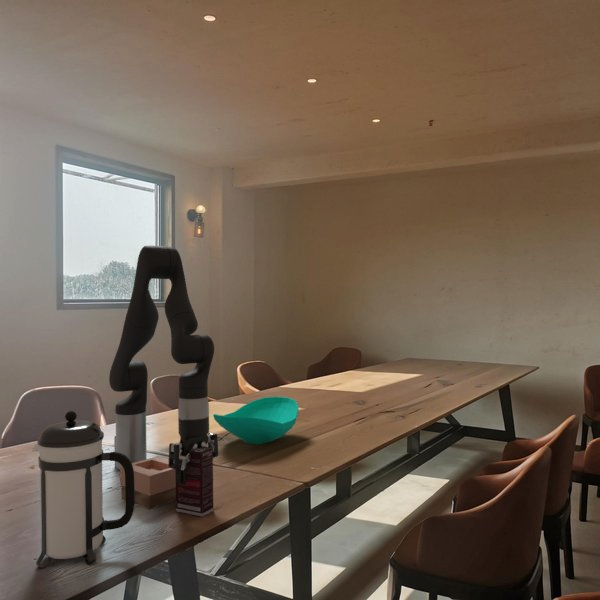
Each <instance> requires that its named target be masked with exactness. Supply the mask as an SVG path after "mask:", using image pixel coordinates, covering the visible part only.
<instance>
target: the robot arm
mask: <svg viewBox="0 0 600 600" xmlns="http://www.w3.org/2000/svg"><path fill="white" fill-rule="evenodd" d="M139 251H140V252H139V254H138V257H137V258H138V259H137V263H136V268H135V269H136V270H135V275H134V280H133V281H134V282H133V287H132V288H133V289H132V293H131V297H130V300H129V304H128V307H127V312H126V316H125V318H124V322H123V328H122V332H121V338H120V339H119V344H118V348H117V350H116V353H115V356H114V358H113V362H112V364H111V367H110V370H109V371H110V372H109V376H108V377H109V378H108V379H109V380H108V381H109V385H110V388H111V389H112V391H114V392H118V393H121V392H122V393H123V392H131V394H129V395H128V396H127V397H126V398H125V399H122V400H121V401H119V402H117V403H116V405H115V409H114V410H115V436H114V438H113V439H114V443H113V444H114V452H119V453H122V454H124V455H126V456H127V457H128V458H129V460H130V461H131V463H135V462H138V461H142V460H146V459H147V402H148V381H149V379H148V378H149V375H148V373H149V372H148V367H147V365H146V363H145V362H144V361H142V360H133V359H134V357H135V356H136V355H137V354H138V353H139V352H140V351H141V350H143V348H144V347H145V346H147V344H149V342H150V341H151V340H152V338H154V336H155V332H156V329H157V326H158V323H159V322H158V321H159V311H158V308H157V306H156V304H155V302H154V299H153V298H152V296H151V293H150V288H149V286H150V282H151V280H152V279H153V280H169V281H170V283H171V289H170V290H169V293H168V295H167V297H166V299H165V303H164V313H165V317H166V320H167V323H168V325H169V329H170V337H171V339H170V340H171V345H170V350H171V351H170V354H171V357H172V359H173V360H174V361H175V362H176V363H177V364H179V365H189V364H195V367H194V369H192V370H191V371H188V372H186V373H183V374H181V375H180V376H179V377H178V378H179V379H178V406H177V407H178V408H177V412H178V413H177V415H178V416H177V417H178V418H177V420H178V422H177V423H178V435H179V438H180V439H179V442H176V443H174V442H170V443H169V446H168V459H169V468H172V469H175V470H176V482H177V483H178V485H182V486H183V485H185V470H184V469H185V467H186V465H187V463H188V462H189V461H190V460H191V457H192V455H193V451H195V450H196V449H197V448H205V447H209V448H213V459H215V458H216V457H217V458H218V457H219V443H218V442H219V441H218V438H219V437H218V434H217V433H214V432H213V433H212V432H210V406H209V405H210V404H209V403H210V402H209V396H208V394H209V393H208V392H209V391H208V387H209V386H208V381H209V375H210V370H211V366H212V362H213V359H214V355H215V354H214V353H215V344H214V340H213V339H212V338H211V337H210V336H209V335H207V334H194V333H195V332H196V331H197V329H198V328H199V326H198V325H199V324H198V320H197V317H196V315H195V312H194V309H193V307H192V304H191V301H190V298H189V293H188V288H187V282H186V277H185V272H184V271H185V270H184V267H183V261H182V258H181V254H180V252H179V251H178V250H177V249H176V248H175V247H171V246H165V245H164V246H163V245H150V244H149V245H144V246H143V247H142V248H141V249H140V250H139ZM180 448H181V450H180ZM179 452H180V453H179ZM184 454H185V455H186V457H184ZM182 461H183V462H182ZM181 463H182V464H181ZM120 466H122V465H121V464H120V463H119V462H116V461H114V467H115V468H116V470H118V471H120Z"/></svg>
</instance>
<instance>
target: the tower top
mask: <svg viewBox="0 0 600 600" xmlns="http://www.w3.org/2000/svg"><path fill="white" fill-rule="evenodd" d="M132 466H133V470H134V490H135V491H138V492H141V493H144V494H146V495H149V496H151V495H154V494H157V493H160V492H163V491H166V490H169V489H172V488H175V487H176V475H175V469H172V468H169V458H165V457H161V456H160V455H159V456H154V457H150V458H146V460H142V461H138V462H135V463H132ZM119 473H120V475H119V477H120V486H121V487H122V486H124V487H125V471H124V468H123V466H120V470H119Z"/></svg>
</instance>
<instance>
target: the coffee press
mask: <svg viewBox="0 0 600 600" xmlns="http://www.w3.org/2000/svg"><path fill="white" fill-rule="evenodd" d="M64 415H65V416H64V418H65V421H60V422H55V423H54V424H53V423H52V424H50V425H48V426H47V427H45V428H44V429H43V430H42V431H41V433H40V434H39V437H38V438H37V440H36V442H37V443H35V444H34V445H33V447H32V449H31V451H32V452H38V454H39V456H38V458H37V459H38V460H37V461H38V468H39V492H40V493H39V495H40V496H39V499H40V500H39V502H40V504H39V505H40V506H39V509H40V510H39V511H40V514H39V515H40V518H39V519H40V549H41V552H40V554H39V557H38V558H37V560H36V563H35V564H36V566H37V567H38V568H40V569H44V568H46V566H47V565H48V564H49V563H50V561H52V560H53V559H56V560H57V559H58V560H68V559H75V558H79V557H82V558H83V559H84V561H85V563H86V565H88V566H90V565H93V564H95V563H96V562H97V558H96V555H95V552H94V551H95V550H97V549H98V548H99V547H100V546H101V545H104V544H105V542H106V541H107V540H106V539H107V537H105V535H104V531H110V530H117V529H120V528H123V527H124V526H126V525H127V524H128V523H129V522H130V521H131V519H132V517H133V515H134V512H135V504H134V501H135V495H134V470H133V466H132V463H131V461H130V460H129V458H128V457H127V456H126V455H124V454H122V453H119V452H115V451H110V452H104V449H103V439H104V438H105V437H104V436H105V433H104V431H102V429H101V427H100V425H98V424H97V423H95V422H92V421H89V420H76V419H77V418H78V415H77V413H76V412H75V411H74V410H69V411H67V412H66V413H65V414H64ZM104 461H110V462H115V461H116V462H119V463H120V464H121V465H122V466H123V468H124V471H125V500H124V501H125V503H124V504H125V511H124V513H123V515H122V516H121V517H120V518H117V519H109V520H107V519H105V518H104V511H103V510H104V508H103V507H104V505H103V503H104V502H103V499H104V498H103V495H104V494H103V462H104ZM45 556H46V558H45ZM44 558H45V560H44ZM43 560H44V561H43Z"/></svg>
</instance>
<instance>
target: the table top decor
mask: <svg viewBox="0 0 600 600" xmlns="http://www.w3.org/2000/svg"><path fill="white" fill-rule="evenodd" d="M299 409H300V407H299V404H298V402H297V401H296V400H295V399H293V398H290V397H285V396H269V397H262V398H258V399H254V400H252V401H250V402H248V403H246V404H244V405H242V406H240V408H238V409H237V410H235V411H233V412H229V413H227V414H224V415H220V414H217V413H213V414H212V415H213V420H215V422H216V423H217V424H218V425H219V426H220V427H222V428H223V429H224V430H225V431H227V432H228V433H230V434H232V435H233V436H235V437H237V438H238V439H240V440H241V441H243V442H245V444H249V445H263V444H266V443H270V442H273V441H274V440H278V439H279V438H281V437H283V436H284V435H286V434H287V433H288V432H289V431H291V429H293V427H294V425H296V421H297V417H298V414H299Z"/></svg>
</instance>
